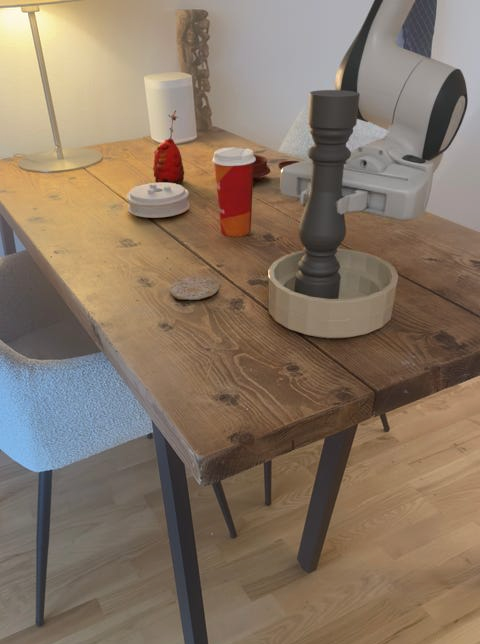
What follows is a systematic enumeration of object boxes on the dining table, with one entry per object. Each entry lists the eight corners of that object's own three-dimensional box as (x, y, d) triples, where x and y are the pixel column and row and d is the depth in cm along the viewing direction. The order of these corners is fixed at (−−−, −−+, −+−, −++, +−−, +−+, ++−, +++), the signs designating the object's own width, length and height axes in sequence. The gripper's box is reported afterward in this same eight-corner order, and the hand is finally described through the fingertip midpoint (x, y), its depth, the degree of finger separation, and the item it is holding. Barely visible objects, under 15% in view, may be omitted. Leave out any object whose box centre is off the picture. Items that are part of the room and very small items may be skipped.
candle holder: (339, 290, 81) (363, 90, 66) (336, 309, 76) (361, 97, 61) (297, 287, 82) (310, 89, 67) (291, 305, 77) (304, 95, 62)
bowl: (379, 284, 88) (384, 246, 84) (403, 342, 74) (411, 300, 71) (266, 286, 88) (266, 249, 85) (270, 343, 75) (270, 302, 71)
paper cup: (227, 222, 111) (224, 144, 103) (262, 227, 109) (262, 148, 100) (208, 235, 106) (203, 155, 97) (244, 241, 103) (243, 159, 94)
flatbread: (183, 277, 91) (183, 271, 91) (227, 284, 89) (226, 278, 88) (160, 299, 85) (159, 293, 85) (206, 306, 83) (205, 300, 82)
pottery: (219, 174, 138) (218, 154, 135) (300, 170, 139) (301, 151, 136) (222, 188, 129) (221, 167, 126) (308, 184, 130) (309, 164, 127)
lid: (200, 214, 115) (198, 189, 112) (143, 226, 110) (139, 200, 107) (173, 198, 124) (171, 174, 121) (119, 209, 119) (116, 184, 116)
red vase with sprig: (156, 178, 136) (148, 108, 127) (185, 177, 136) (180, 107, 127) (153, 187, 130) (145, 114, 121) (184, 186, 130) (178, 113, 121)
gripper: (311, 143, 83) (254, 165, 74) (446, 164, 72) (397, 191, 64) (309, 188, 87) (254, 213, 78) (436, 213, 76) (389, 245, 68)
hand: (320, 203), depth 71 cm, fingers closed on candle holder, 3 cm apart
